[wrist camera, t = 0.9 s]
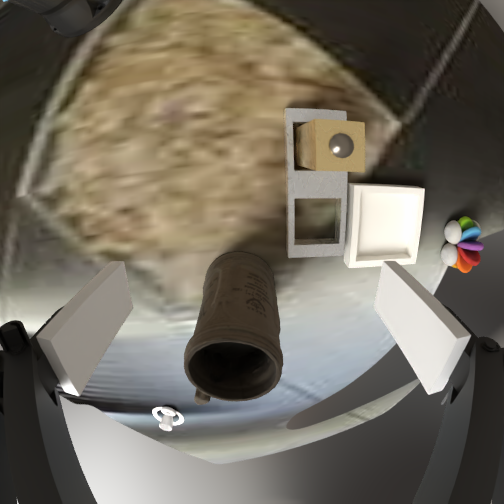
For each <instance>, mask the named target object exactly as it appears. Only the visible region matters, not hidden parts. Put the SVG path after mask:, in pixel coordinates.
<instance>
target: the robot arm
mask: <svg viewBox="0 0 504 504" xmlns="http://www.w3.org/2000/svg"><path fill="white" fill-rule="evenodd" d="M3 1H4V2H6V1H7V2H10V3H13V4H16V5H18V6H21V7H24V8H26V9H29V10H31V11H33V12H36V13H38V14H40V15H42V16H43V17H44V19H45V20H46V22H47V23H48V24H49V25H50V27H51V29H52V30H53V31H54V32H55V33H57V34H59V35H61V36H64V37H76V36H79V35H82V34H84V33H86V32H88V31H90V30H92V29H93V28H95V27H96V26H98V25H99V24H100V23H102V22H103V21H104V20H105V19H106V18H107V17H108V16H109V15H110V14H111V13H112V12H113V11H114V10H115V9H116V8H117V6H118V5H119V4H120V2H121V1H122V0H3ZM373 308H374V309H375V310H376V312H377V313H378V315H379V316H380V318H381V319H382V321H383V322H384V324H385V325H386V327H387V328H388V330H389V331H390V333H391V335H392V336H393V338H394V339H395V341H396V342H397V344H398V345H399V347H400V349H401V350H402V352H403V353H404V355H405V357H406V358H407V360H408V361H409V363H410V365H411V366H412V368H413V370H414V371H415V373H416V375H417V376H418V378H419V380H420V381H421V383H422V385H423V387H424V388H425V390H426V392H427V393H428V395H429V394H432V393H435V392H438V391H441V390H443V388H444V387H445V385H446V383H447V381H448V380H450V382H451V383H452V386H451V388H450V390H449V391H448V393H447V395H446V396H445V398H444V399H443V401H442V403H441V404H444V402H445V401H446V400H447V403H446V407H445V411H444V415H443V420H442V423H441V427H440V431H439V434H438V438H437V441H436V444H435V447H434V450H433V453H432V456H431V459H430V462H429V464H428V467H427V470H426V472H425V475H424V477H423V480H422V482H421V485H420V487H419V489H418V491H417V494H416V496H415V498H414V500H413V502H412V504H491V500H492V504H504V348H501V347H500V346H499V344H498V343H497V342H495V341H494V340H493V339H491V338H488V337H479V338H478V337H477V336H476V335H475V334H474V333H473V332H472V331H471V330H470V329H469V328H468V327H467V326H466V325H465V324H464V323H463V322H461V319H459V317H458V316H456V314H454V312H453V311H452V310H451V309H450V308H448V307H446V306H445V305H443V304H441V303H440V302H439V301H438V300H437V299H436V298H435V297H434V296H433V295H432V294H431V293H430V292H429V291H428V290H427V289H425V288H424V287H423V286H422V285H421V284H420V283H419V282H418V281H417V280H416V279H415V278H414V277H413V276H412V275H411V274H409V273H408V272H407V271H406V270H405V269H404V268H403V267H402V266H401V265H399V264H398V263H397V262H396V261H383V263H382V269H381V274H380V279H379V284H378V289H377V293H376V298H375V302H374V306H373ZM132 309H133V304H132V299H131V295H130V290H129V285H128V281H127V276H126V270H125V265H124V261H111V262H110V263H109V264H108V265H107V266H106V267H104V268H103V269H102V270H101V271H100V272H99V273H98V274H97V275H96V276H95V277H94V278H93V279H92V280H91V281H90V282H88V283H87V284H86V285H85V286H84V287H83V288H82V289H81V290H80V291H79V292H78V293H77V294H76V295H75V296H74V297H73V298H72V299H71V300H70V301H69V302H68V303H67V304H66V305H65V306H64V307H62V308H60V309H59V310H57V311H56V312H55V313H54V314H53V315H52V316H51V318H49V319H48V320H47V321H46V324H44V325H43V326H42V327H41V328H40V329H39V330H38V331H37V332H36V333H35V334H34V336H33V337H32V338H31V339H29V337H28V334H27V332H26V330H25V328H24V325H23V323H22V322H20V321H16V320H15V321H10V322H8V323H5V324H4V325H3V326H1V327H0V344H1V346H2V347H3V350H0V504H17V500H18V503H19V504H97V502H96V500H95V498H94V496H93V494H92V492H91V489H90V487H89V485H88V483H87V481H86V478H85V476H84V474H83V471H82V469H81V466H80V463H79V461H78V458H77V455H76V453H75V450H74V447H73V444H72V441H71V438H70V435H69V432H68V428H67V424H66V421H65V417H64V413H63V409H62V405H61V401H60V397H59V393H58V391H57V389H56V388H55V387H56V386H57V384H58V382H60V384H61V386H62V388H63V389H64V391H65V392H67V393H70V394H73V395H77V396H80V395H81V393H82V391H83V389H84V388H85V386H86V384H87V382H88V381H89V379H90V377H91V375H92V374H93V372H94V370H95V369H96V367H97V365H98V363H99V362H100V360H101V358H102V357H103V355H104V353H105V352H106V350H107V349H108V347H109V345H110V344H111V342H112V340H113V339H114V337H115V336H116V334H117V332H118V331H119V329H120V328H121V326H122V325H123V323H124V322H125V320H126V318H127V317H128V315H129V314H130V312H131V311H132Z"/></svg>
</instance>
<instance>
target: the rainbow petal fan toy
mask: <svg viewBox="0 0 504 504" xmlns="http://www.w3.org/2000/svg"><path fill="white" fill-rule="evenodd" d="M444 233H445V237H446V239H447V241H448V242H450V243H447V244H446V245H444V247H443V248H442V250H441V258H442V261H443V262H444V263H445V264H446V265H448V266H452V267H454V268H459V269H460V271H462V272H463V273H467V272H469V271H470V270H471V268H472V266H476V265H478V264H479V262H480V255H479V253H478V251H477V250H482V249H483V247H484V245H483V244H482V243H481V242H477V240H478V239H479V238H480V236H481V228H480V225H479V224H478V223H477V222H476V221H474V220H471V219H470V218H469V217H467V216H464V217H462V218H460V219H459V220H458V222H457V221H454V220H453V221H450V222H449V223H447V225H446V227H445V230H444ZM454 244H457V245H454Z"/></svg>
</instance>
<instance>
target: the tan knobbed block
mask: <svg viewBox="0 0 504 504" xmlns="http://www.w3.org/2000/svg"><path fill="white" fill-rule="evenodd" d="M295 138H296V165H300V166H303V167H306V168H309V169H312V170H315V171H346V172H365V124H364V122H355V121H344V120H330V119H313V120H311V121H309V122H307V123H305V124H303V125H301V126H299V127H297V128H295Z"/></svg>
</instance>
